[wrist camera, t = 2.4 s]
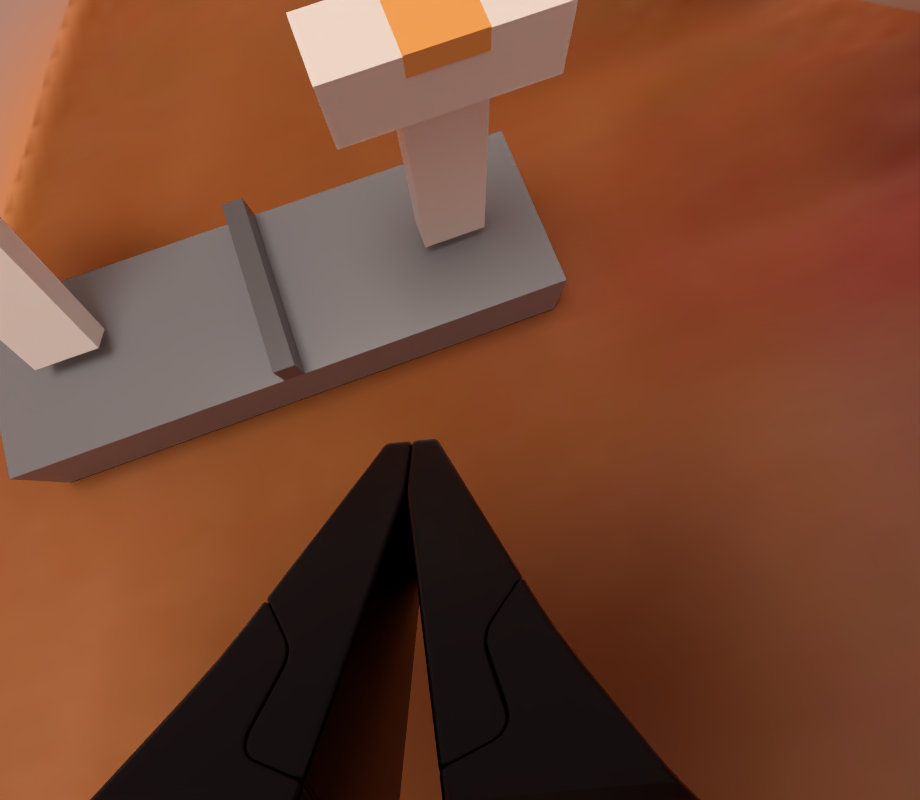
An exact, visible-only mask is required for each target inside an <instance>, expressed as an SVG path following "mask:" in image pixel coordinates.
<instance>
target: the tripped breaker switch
mask: <svg viewBox="0 0 920 800" xmlns="http://www.w3.org/2000/svg"><path fill="white" fill-rule="evenodd" d="M577 3H578V0H324V1H321V2H318V3H315V4H311V5H308V6H305V7H302V8H299V9H296V10H293V11H290V12H287V13H286V14H287V17H288V20H289V23H290V25H291V28H292V31H293V34H294V36H295V39H296V42H297V45H298V48H299V50H300V53H301V56H302V59H303V61H304V64H305V67H306V70H307V72H308V75H309V78H310V81H311V84H312V86H313V89H314V92H315V94H316V97H317V99H318V102H319V105H320V107H321V110H322V112H323V115H324V118H325V120H326V123H327V125H328V128H329V130H330V133H331V136H332V138H333V141H334V143H335V146H336V149H337V150H339V149H342V148H345V147H348V146H351V145H354V144H357V143H359V142H362V141H365V140H368V139H371V138H374V137H377V136H380V135H383V134H386V133H389V132H392V131H395V130H397V135H398V140H399V144H400V149H401V154H402V159H403V164H404V169H405V174H406V179H407V184H408V188H409V193H410V198H411V203H412V208H413V213H414V218H415V222H416V224H417V227H418V229H419V232H420V235H421V237H422V240H423V243H424V245H425V248H426V247H429V246H432V245H434V244H437V243H440V242H443V241H446V240H449V239H452V238H454V237H457V236H460V235H463V234H466V233H469V232H472V231H474V230H477V229H480V228H483V227H484V226H485V201H486V177H487V153H488V128H489V104H490V98H492V97H495V96H498V95H501V94H504V93H507V92H510V91H513V90H516V89H519V88H522V87H525V86H528V85H531V84H534V83H536V82H539V81H542V80H545V79H548V78H551V77H554V76H557V75H560V74H563V70H564V65H565V61H566V56H567V51H568V46H569V41H570V37H571V32H572V27H573V22H574V17H575V13H576V8H577Z"/></svg>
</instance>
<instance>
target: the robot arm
mask: <svg viewBox="0 0 920 800" xmlns="http://www.w3.org/2000/svg"><path fill="white" fill-rule="evenodd" d="M267 601H268V603H269V604H268V603H267V602H265V603H263V604H262V605H261V607H260V608H259V609H258V611H257V612H256V613H255V615H254V616H253V617H252V618H251V620H250V621H249V622H248V624H247V625H246V626H245V627H244V629H243V630H242V631H241V632H240V634H239V635H238V636H237V637H236V638H235V640H234V641H233V642H232V643H231V645H230V646H229V647H228V648H227V650H226V651H225V652H224V653H223V654H222V656H221V657H220V658H219V659H218V660H217V662H216V663H215V664H214V665H213V666H212V667H211V668H210V670H209V671H208V672H207V673H206V674H205V675H204V676H203V677H202V679H201V680H200V681H199V682H198V683H197V684H196V685H195V686H194V688H193V689H192V690H191V691H190V692H189V693H188V694H187V695H186V697H185V698H184V699H183V700H182V701H181V702H180V703H179V704H178V705H177V706H176V707H175V709H174V710H173V711H172V712H171V713H170V714H169V715H168V716H167V717H166V718H165V719H164V720H163V722H162V723H161V724H160V725H159V726H158V727H157V728H156V729H155V730H154V731H153V732H152V733H151V735H150V736H149V737H148V738H147V739H146V740H145V741H144V742H143V743H142V744H141V745H140V746H139V748H138V749H137V750H136V751H135V752H134V753H133V754H132V755H131V756H130V757H129V758H128V759H127V761H126V762H125V763H124V764H123V765H122V766H121V767H120V768H119V769H118V770H117V771H116V772H115V774H114V775H113V776H112V777H111V778H110V779H109V780H108V781H107V782H106V783H105V784H104V785H103V787H102V788H101V789H100V790H99V791H98V792H97V793H96V794H95V795H94V796H93V797H92V798H91V799H90V800H399V799H400V789H401V779H402V769H403V759H404V749H405V739H406V729H407V719H408V709H409V699H410V689H411V679H412V669H413V659H414V649H415V639H416V629H417V619H418V609H419V605H420V614H421V622H422V631H423V639H424V648H425V656H426V664H427V673H428V681H429V690H430V698H431V707H432V715H433V723H434V732H435V740H436V749H437V757H438V766H439V770H440V783H441V791H442V800H700V799H699V798H698V797H697V796H696V795H695V794H694V793H693V792H692V791H691V790H690V789H689V788H688V787H687V786H686V785H685V784H684V783H683V782H682V781H681V780H680V779H679V778H678V777H677V776H676V775H675V774H674V773H673V772H672V771H671V769H670V768H669V767H668V766H667V765H666V764H665V763H664V762H663V760H662V759H661V758H660V757H659V756H658V755H657V753H656V752H655V751H654V750H653V749H652V747H651V746H650V745H649V744H648V743H647V741H646V740H645V739H644V738H643V736H642V735H641V734H640V733H639V732H638V730H637V729H636V728H635V727H634V725H633V724H632V723H631V722H630V721H629V719H628V718H627V717H626V716H625V715H624V713H623V712H622V711H621V710H620V708H619V707H618V706H617V705H616V704H615V702H614V701H613V700H612V699H611V697H610V696H609V695H608V694H607V693H606V691H605V690H604V689H603V688H602V686H601V685H600V684H599V683H598V682H597V680H596V679H595V678H594V677H593V675H592V674H591V673H590V672H589V671H588V669H587V668H586V667H585V666H584V664H583V663H582V662H581V661H580V659H579V658H578V657H577V655H576V654H575V653H574V652H573V650H572V649H571V648H570V646H569V645H568V644H567V642H566V641H565V640H564V638H563V637H562V636H561V635H560V633H559V632H558V631H557V629H556V628H555V626H554V625H553V623H552V622H551V620H550V619H549V617H548V616H547V614H546V613H545V611H544V610H543V608H542V607H541V605H540V604H539V602H538V601H537V599H536V598H535V596H534V594H533V593H532V591H531V590H530V588H529V586H528V585H527V583H526V582H525V580H523V579H522V576H521V574H520V572H519V571H518V569H517V568H516V566H515V564H514V563H513V561H512V559H511V558H510V556H509V555H508V553H507V551H506V550H505V548H504V547H503V545H502V543H501V542H500V540H499V538H498V537H497V535H496V534H495V532H494V530H493V529H492V527H491V525H490V524H489V522H488V521H487V519H486V517H485V516H484V514H483V513H482V511H481V509H480V508H479V506H478V504H477V503H476V501H475V500H474V498H473V496H472V495H471V493H470V491H469V490H468V488H467V487H466V485H465V483H464V482H463V480H462V479H461V477H460V475H459V474H458V472H457V470H456V469H455V467H454V466H453V464H452V462H451V461H450V459H449V458H448V456H447V454H446V453H445V451H444V449H443V448H442V446H441V445H440V443H439V442H438V441H437V440H435V439H431V440H420V441H415V442H414V443H413V444H411V443H410V442H399V443H390V444H387V445H385V446H384V448H383V449H382V450H381V452H380V453H379V454H378V455H377V457H376V458H375V459H374V461H373V462H372V463H371V465H370V466H369V467H368V468H367V470H366V471H365V472H364V474H363V475H362V476H361V477H360V479H359V480H358V481H357V483H356V484H355V485H354V487H353V488H352V489H351V490H350V492H349V493H348V494H347V496H346V497H345V498H344V500H343V501H342V502H341V503H340V505H339V506H338V507H337V509H336V510H335V511H334V512H333V514H332V515H331V516H330V518H329V519H328V520H327V522H326V523H325V524H324V525H323V527H322V528H321V529H320V531H319V532H318V533H317V535H316V536H315V537H314V538H313V540H312V541H311V542H310V544H309V545H308V546H307V547H306V549H305V550H304V551H303V553H302V554H301V555H300V557H299V558H298V559H297V560H296V562H295V563H294V564H293V566H292V567H291V568H290V570H289V571H288V572H287V573H286V575H285V576H284V577H283V579H282V580H281V581H280V582H279V584H278V585H277V586H276V588H275V589H274V590H273V592H272V593H271V594H270V595H269V597H268V599H267Z"/></svg>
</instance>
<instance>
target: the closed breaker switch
mask: <svg viewBox="0 0 920 800" xmlns="http://www.w3.org/2000/svg"><path fill="white" fill-rule="evenodd" d="M103 332H104V328H103V327H102V326H101V325H100V324H99V322H98V321H97V320H96V319H95V318H94V317H93V316H92V315H91V314H90V313H89V312H88V311H87V310H86V309H85V307H84V306H83V305H82V304H81V303H80V302H79V301H78V300H77V299H76V298H75V297H74V296H73V295H72V294H71V292H70V291H69V290H68V289H67V288H66V287H65V286H64V285H63V284H62V283H61V282H60V281H59V280H58V278H57V277H56V276H55V275H54V274H53V273H52V272H51V271H50V270H49V269H48V268H47V267H46V266H45V265H44V263H43V262H42V261H41V260H40V259H39V258H38V257H37V256H36V255H35V254H34V253H33V252H32V251H31V249H30V248H29V247H28V246H27V245H26V244H25V243H24V242H23V241H22V240H21V239H20V238H19V237H18V236H17V234H16V233H15V232H14V231H13V230H12V229H11V228H10V227H9V226H8V225H7V224H6V223H5V222H4V221H3V219H2V218H1V217H0V340H1V341H2V342H3V343H4V344H5V345H7V346H8V347H9V348H10V349H11V350H12V351H13V352H15V353H16V354H17V355H18V356H19V357H20V358H21V359H23V360H24V361H25V362H26V363H27V364H28V365H30V366H31V367H32V368H33V369H34V370H37V369H40V368H43V367H46V366H49V365H52V364H55V363H57V362H60V361H63V360H66V359H69V358H72V357H75V356H77V355H80V354H83V353H86V352H89V351H92V350H95V349H97V348H99V345H100V342H101V339H102V336H103Z"/></svg>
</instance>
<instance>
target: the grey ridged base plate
mask: <svg viewBox="0 0 920 800" xmlns="http://www.w3.org/2000/svg"><path fill="white" fill-rule="evenodd" d="M222 207H223V211H224V214H225V217H226V221H227V225H224V226H221V227H218V228H216V229H213V230H210V231H207V232H204V233H201V234H198V235H195V236H192V237H189V238H186V239H183V240H181V241H178V242H175V243H172V244H169V245H166V246H163V247H160V248H157V249H154V250H151V251H148V252H145V253H143V254H140V255H137V256H134V257H131V258H128V259H125V260H122V261H119V262H116V263H113V264H110V265H107V266H105V267H102V268H99V269H96V270H93V271H90V272H87V273H84V274H81V275H78V276H75V277H72V278H69V279H67V280H64V281H61V283H62V284H63V285H64V286H65V287H66V288H67V289H68V290H69V291H70V292H71V294H72V295H73V296H74V297H75V298H76V299H77V300H78V301H79V302H80V303H81V304H82V305H83V306H84V307H85V309H86V310H87V311H88V312H89V313H90V314H91V315H92V316H93V317H94V318H95V319H96V320H97V321H98V322H99V324H100V325H101V326H102V327H103V328H104V332H103V336H102V339H101V342H100V345H99V348H97V349H95V350H92V351H89V352H86V353H83V354H80V355H77V356H75V357H72V358H69V359H66V360H63V361H60V362H57V363H55V364H52V365H49V366H46V367H43V368H40V369H37V370H34V369H33V368H32V367H31V366H30V365H28V364H27V363H26V362H25V361H24V360H23V359H21V358H20V357H19V356H18V355H17V354H16V353H15V352H13V351H12V350H11V349H10V348H9V347H8V346H7V345H5V344H4V343H3V342H2V341H1V340H0V431H1V437H2V442H3V447H4V452H5V458H6V463H7V468H8V473H9V478H10V479H17V480H36V481H55V482H73V481H76V480H79V479H82V478H85V477H87V476H90V475H93V474H96V473H98V472H101V471H104V470H107V469H110V468H112V467H115V466H118V465H121V464H123V463H126V462H129V461H132V460H135V459H137V458H140V457H143V456H146V455H148V454H151V453H154V452H157V451H160V450H162V449H165V448H168V447H171V446H173V445H176V444H179V443H182V442H185V441H187V440H190V439H193V438H196V437H198V436H201V435H204V434H207V433H210V432H212V431H215V430H218V429H221V428H223V427H226V426H229V425H232V424H235V423H237V422H240V421H243V420H246V419H248V418H251V417H254V416H257V415H260V414H262V413H265V412H268V411H271V410H273V409H276V408H279V407H282V406H285V405H287V404H290V403H293V402H296V401H298V400H301V399H304V398H307V397H310V396H312V395H315V394H318V393H321V392H323V391H326V390H329V389H332V388H335V387H337V386H340V385H343V384H346V383H348V382H351V381H354V380H357V379H360V378H362V377H365V376H368V375H371V374H373V373H376V372H379V371H382V370H385V369H387V368H390V367H393V366H396V365H398V364H401V363H404V362H407V361H410V360H412V359H415V358H418V357H421V356H423V355H426V354H429V353H432V352H435V351H437V350H440V349H443V348H446V347H448V346H451V345H454V344H457V343H460V342H462V341H465V340H468V339H471V338H473V337H476V336H479V335H482V334H485V333H487V332H490V331H493V330H496V329H498V328H501V327H504V326H507V325H510V324H512V323H515V322H518V321H521V320H523V319H526V318H529V317H532V316H535V315H537V314H540V313H543V312H546V311H548V310H551V309H554V308H555V306H556V304H557V301H558V299H559V297H560V294H561V292H562V290H563V287H564V285H565V282H566V277H565V275H564V273H563V271H562V268H561V266H560V264H559V261H558V259H557V257H556V255H555V252H554V250H553V248H552V245H551V243H550V241H549V239H548V236H547V234H546V232H545V229H544V227H543V225H542V223H541V220H540V218H539V216H538V213H537V211H536V209H535V207H534V204H533V202H532V200H531V197H530V195H529V193H528V191H527V188H526V186H525V184H524V182H523V179H522V177H521V175H520V172H519V170H518V168H517V166H516V163H515V161H514V159H513V156H512V154H511V152H510V150H509V147H508V145H507V143H506V140H505V138H504V136H503V134H502V131H499V132H496V133H493V134H490V135H488V153H487V177H486V201H485V226H484V227H483V228H480V229H477V230H474V231H472V232H469V233H466V234H463V235H460V236H457V237H454V238H452V239H449V240H446V241H443V242H440V243H437V244H434V245H432V246H429V247H426V248H425V245H424V243H423V240H422V237H421V235H420V232H419V229H418V227H417V224H416V222H415V218H414V213H413V208H412V203H411V198H410V193H409V188H408V184H407V179H406V174H405V169H404V164H403V165H400V166H397V167H394V168H391V169H388V170H385V171H382V172H379V173H376V174H373V175H370V176H368V177H365V178H362V179H359V180H356V181H353V182H350V183H347V184H344V185H341V186H338V187H335V188H332V189H330V190H327V191H324V192H321V193H318V194H315V195H312V196H309V197H306V198H303V199H300V200H297V201H294V202H292V203H289V204H286V205H283V206H280V207H277V208H274V209H271V210H268V211H265V212H262V213H259V214H256V215H254V213H253V212H252V211H251V209H250V208H249V207H248V205H247V204H246V203H245V201H244V200H243V199H242V198H241V199H238V200H235V201H232V202H229V203H226V204H223V205H222Z"/></svg>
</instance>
